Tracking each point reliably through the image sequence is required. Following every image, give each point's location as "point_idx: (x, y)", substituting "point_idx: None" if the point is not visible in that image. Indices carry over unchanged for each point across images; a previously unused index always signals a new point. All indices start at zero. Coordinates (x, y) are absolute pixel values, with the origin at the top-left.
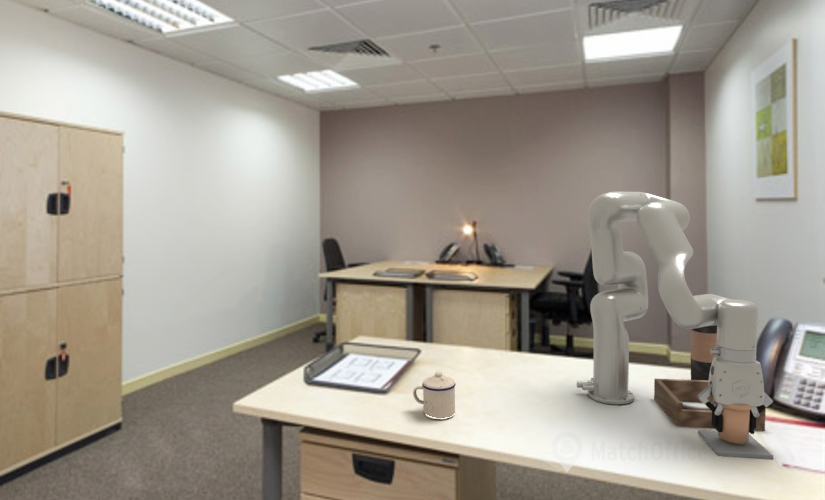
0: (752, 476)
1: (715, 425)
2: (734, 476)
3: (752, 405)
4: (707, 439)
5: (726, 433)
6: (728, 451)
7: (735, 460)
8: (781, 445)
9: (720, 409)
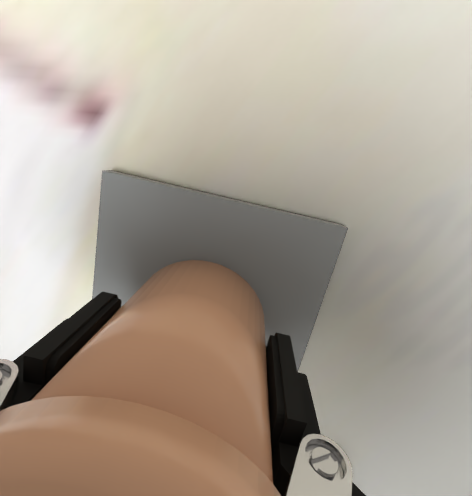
0: (330, 5)
1: (300, 376)
2: (426, 11)
3: None
4: (303, 342)
5: (257, 316)
6: (291, 229)
7: (293, 175)
8: (5, 279)
9: (305, 491)
